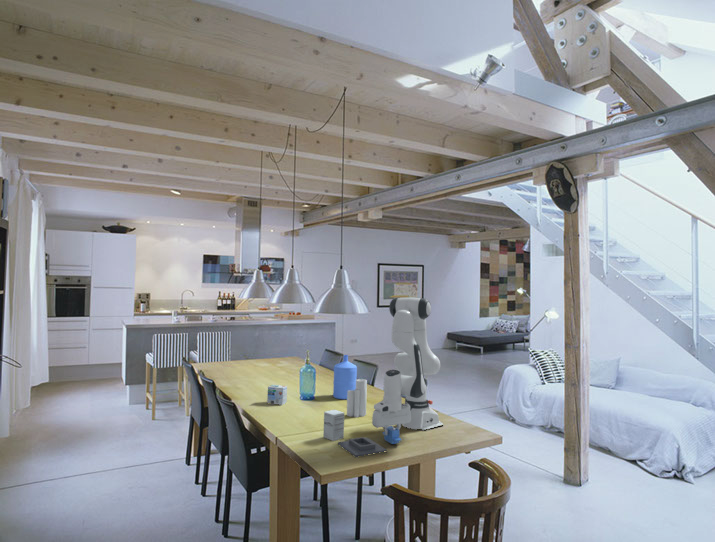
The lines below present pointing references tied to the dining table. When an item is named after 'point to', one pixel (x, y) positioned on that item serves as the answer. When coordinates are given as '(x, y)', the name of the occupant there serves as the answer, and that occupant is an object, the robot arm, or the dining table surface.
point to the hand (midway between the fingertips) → (391, 434)
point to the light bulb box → (277, 394)
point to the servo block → (392, 435)
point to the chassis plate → (361, 446)
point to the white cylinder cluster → (357, 399)
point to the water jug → (344, 378)
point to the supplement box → (333, 425)
